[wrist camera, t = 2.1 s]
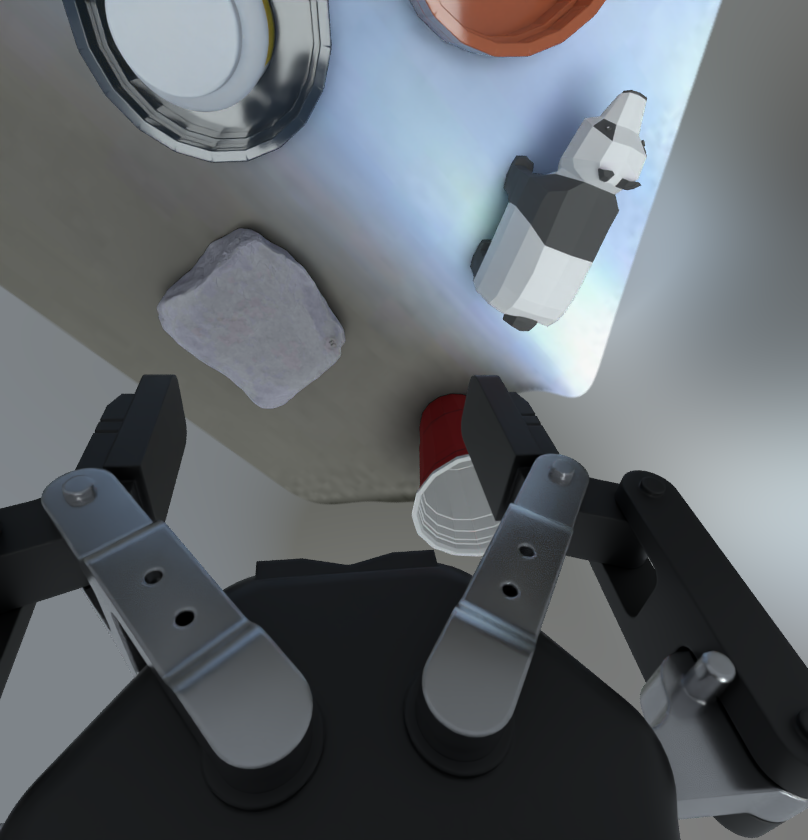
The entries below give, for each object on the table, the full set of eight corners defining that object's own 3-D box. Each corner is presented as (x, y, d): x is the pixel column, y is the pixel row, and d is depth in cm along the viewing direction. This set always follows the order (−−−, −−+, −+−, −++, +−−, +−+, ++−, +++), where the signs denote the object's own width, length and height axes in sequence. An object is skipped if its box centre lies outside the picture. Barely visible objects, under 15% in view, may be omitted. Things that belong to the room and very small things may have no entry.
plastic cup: (450, 345, 43) (491, 433, 34) (527, 407, 49) (580, 498, 39) (366, 427, 47) (383, 526, 38) (446, 476, 53) (478, 574, 43)
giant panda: (517, 298, 42) (565, 358, 34) (456, 280, 40) (492, 338, 32) (619, 99, 34) (709, 119, 26) (549, 64, 32) (625, 76, 25)
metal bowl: (61, 55, 28) (27, 60, 25) (141, -216, 23) (112, -260, 19) (266, 187, 34) (262, 206, 30) (367, -8, 29) (377, -12, 25)
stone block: (245, 203, 36) (147, 302, 37) (252, 215, 32) (142, 326, 33) (355, 318, 43) (270, 398, 44) (372, 339, 39) (278, 427, 40)
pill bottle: (219, -89, 26) (175, -150, 17) (299, 49, 29) (298, 61, 20) (122, -5, 27) (31, -20, 18) (211, 117, 31) (173, 156, 22)
